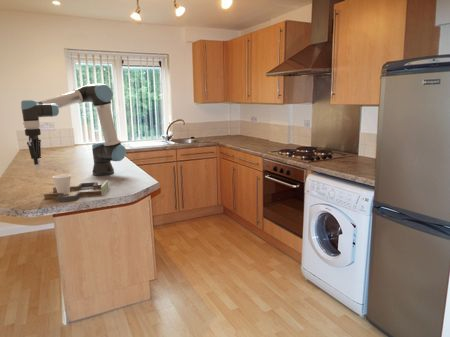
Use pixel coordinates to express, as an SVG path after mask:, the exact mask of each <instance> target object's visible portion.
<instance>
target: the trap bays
mask: <svg viewBox="0 0 450 337" xmlns="http://www.w3.org/2000/svg"><path fill="white" fill-rule="evenodd" d="M93 185H99V182H97V181H95V182H94V181H92V182H81V183H79V184H78V185H77V186H80V190H79V191H78V192H76V193H75V194H74V195H64V196H63V193H62V194H59V195H58V196H57V198H56V202H58V203H59V202H71V201H78V200H79V199H80V198H81V197H80V192H81V190H82V191H83V190H84V191H86V190H94V189H93Z"/></svg>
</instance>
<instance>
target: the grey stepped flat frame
mask: <svg viewBox="0 0 450 337" xmlns="http://www.w3.org/2000/svg"><path fill="white" fill-rule="evenodd" d="M102 185H103V184H98V185H93V189H92V190H88V191H86V190H84V191H81V190H80V186H78V185H74V186H71V185H70V192H75V191H79V192H80V198H81V197H94V196H96V197H97V196H102V195H101V186H102ZM52 191H53V193H44V194H43V198H44V200H48V199H57V196H58V195H59V194H62V193H58V192H57V189H56V186H55V187H52ZM63 196H65V195H64V193H63Z"/></svg>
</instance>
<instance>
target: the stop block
mask: <svg viewBox="0 0 450 337" xmlns="http://www.w3.org/2000/svg"><path fill="white" fill-rule="evenodd" d="M101 185H102V186H101V189H100V191H101V195H100V196H104V195H105V194H106V193H107V191H108V190H109V189H110V186H109V180H108V179H107V180H105V181H104V182H103V183H102V184H101ZM108 188H109V189H108Z"/></svg>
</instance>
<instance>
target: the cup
mask: <svg viewBox="0 0 450 337" xmlns="http://www.w3.org/2000/svg"><path fill="white" fill-rule="evenodd" d="M71 176H72V174H69V173H63V174H56V175H53V176H51V179H52V180H53V183H54V185H55V187H56V189H57V192H56V193H64V196H68V195H69V194H70V193H71V191H70V186H71Z"/></svg>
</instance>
